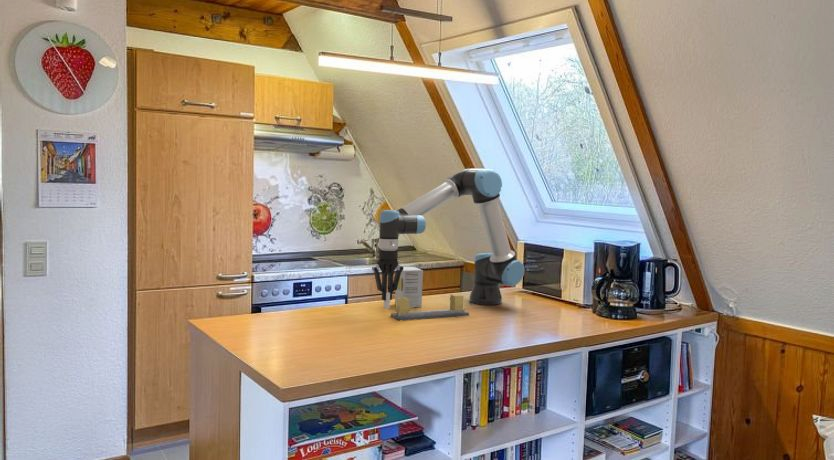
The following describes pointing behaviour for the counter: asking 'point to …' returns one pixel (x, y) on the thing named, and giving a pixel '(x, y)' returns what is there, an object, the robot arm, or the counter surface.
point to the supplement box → (410, 286)
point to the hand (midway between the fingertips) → (386, 308)
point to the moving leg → (402, 305)
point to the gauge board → (437, 311)
